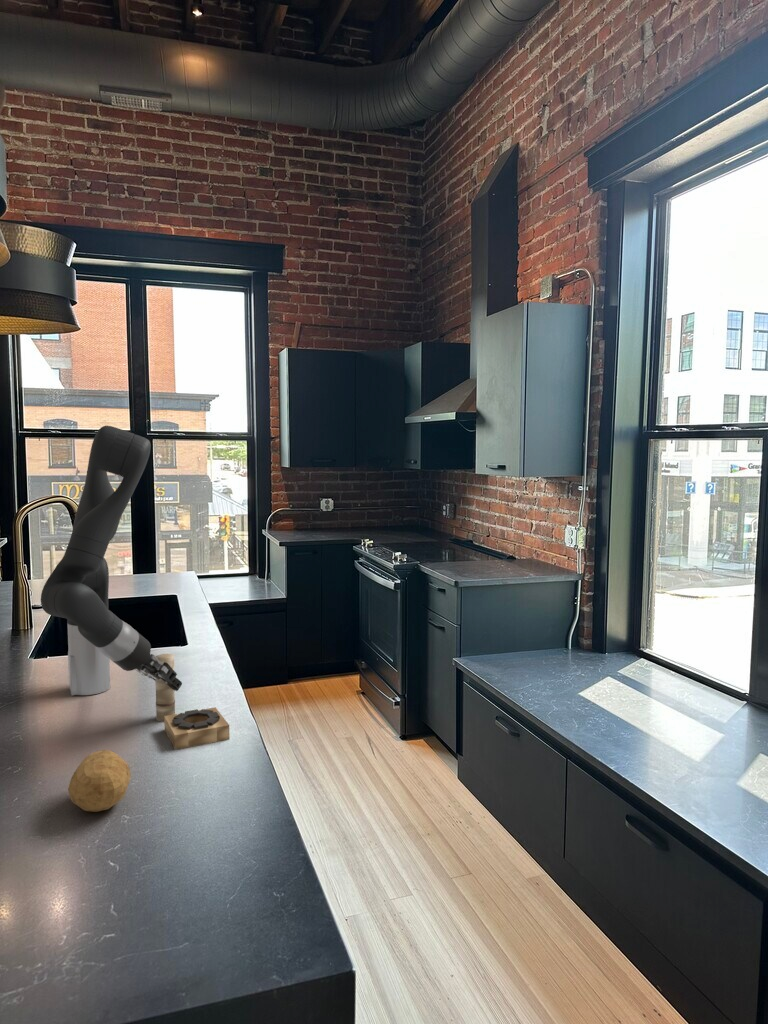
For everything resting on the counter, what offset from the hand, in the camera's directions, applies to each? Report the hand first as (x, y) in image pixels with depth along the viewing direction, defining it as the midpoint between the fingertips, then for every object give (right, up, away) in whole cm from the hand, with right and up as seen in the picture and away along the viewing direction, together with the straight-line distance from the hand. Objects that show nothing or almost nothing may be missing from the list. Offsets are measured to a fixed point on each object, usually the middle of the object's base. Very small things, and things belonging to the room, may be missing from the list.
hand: (172, 684), depth 156 cm
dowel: (-1, -7, -1) cm, 7 cm away
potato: (-1, -11, -38) cm, 39 cm away
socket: (+8, -8, -10) cm, 15 cm away
